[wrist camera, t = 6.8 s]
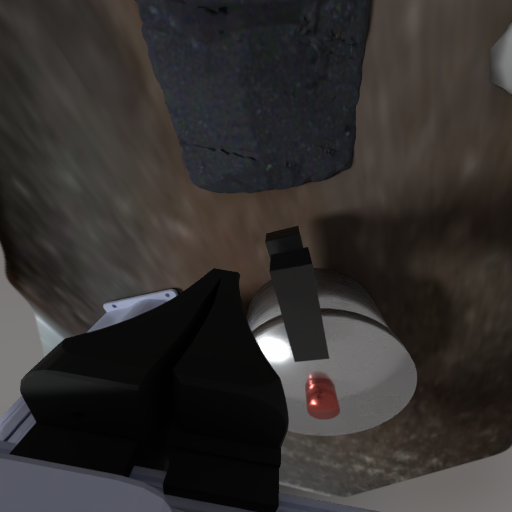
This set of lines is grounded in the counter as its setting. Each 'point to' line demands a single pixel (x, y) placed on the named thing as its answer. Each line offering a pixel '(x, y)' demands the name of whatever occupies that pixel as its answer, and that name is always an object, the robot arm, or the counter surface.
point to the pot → (327, 282)
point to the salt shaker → (502, 61)
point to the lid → (331, 357)
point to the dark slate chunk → (259, 86)
